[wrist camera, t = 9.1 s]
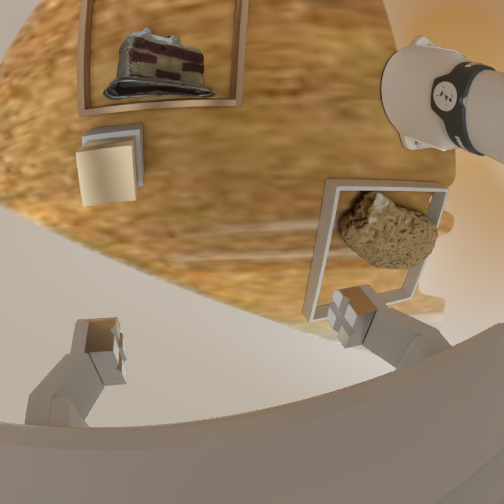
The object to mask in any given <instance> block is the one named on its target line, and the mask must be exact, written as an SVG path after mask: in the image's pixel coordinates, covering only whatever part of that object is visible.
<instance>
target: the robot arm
mask: <svg viewBox="0 0 504 504" xmlns="http://www.w3.org/2000/svg"><path fill="white" fill-rule="evenodd" d="M381 91H382V101H383V105H384V109H385V112H386V114H387V116H388V118H389V120H390V122H391V123H392V124H393V126H394V127H395V128H396V129H397V131H398V132H399V134H400V138H401V141H402V144H403V146H404V148H406V149H409V150H416V149H424V148H432V147H433V148H436V149H438V150H441V151H446V150H451V149H455V148H459V147H460V148H462V149H464V150H465V151H467V152H470V153H473V154H477V155H480V156H484V155H486V156H488V157H491V158H493V159H495V160H497V161H499V162H501V163H503V164H504V73H502V72H498V71H496V70H494V69H493V68H492V67H489V66H486V65H483V64H481V63H474V62H471V61H469V60H467V59H466V57H465V56H464V55H462V54H460V52H459V51H457V50H453V49H448V48H442V47H438V46H437V45H436V44H434V43H433V42H432V41H430V40H429V39H427V38H426V37H424V36H417V37H416V38H415V39H414V40H413V41H412V43H411V44H410V45H409V46H408V47H406V48H403V49H401V50H399V51H398V52H396V53H395V54H394V55H393V56H392V57H391V59H390V60H389V62H388V63H387V65H386V68H385V70H384V74H383V78H382V87H381ZM332 300H333V301H334V302H333V303H332V304H331V306H330V307H329V310H328V320H329V323H330V325H331V327H332V329H333V330H335V331H337V332H338V338H339V340H340V342H341V343H342V345H343V346H344V348H349V347H353V346H358V345H362V344H363V346H364V347H366V348H367V349H369V350H370V351H372V352H373V353H375V354H376V355H378V356H379V357H381V358H382V359H384V360H385V361H387V362H388V363H389V364H391V365H392V366H394V367H396V369H395V371H393V372H390V373H387V374H385V375H382V376H379V377H376V378H373V379H370V380H367V381H365V382H362V383H359V384H355V385H352V386H349V387H346V388H343V389H339V390H336V391H333V392H329V393H326V394H322V395H319V396H316V397H312V398H308V399H305V400H300V401H296V402H292V403H288V404H284V405H279V406H275V407H271V408H266V409H262V410H256V411H252V412H246V413H241V414H235V415H229V416H223V417H217V418H210V419H203V420H196V421H188V422H179V423H171V424H159V425H147V426H132V427H131V426H130V427H106V428H105V427H103V428H101V427H99V428H89V426H88V425H87V424H86V422H85V421H84V420H85V418H86V417H87V415H88V413H89V411H90V410H91V408H92V407H93V405H94V403H95V402H96V400H97V398H98V397H99V395H100V393H101V392H102V390H103V389H104V386H108V385H120V384H126V367H125V364H124V362H125V360H126V345H125V340H124V337H123V334H122V333H120V323H119V320H118V318H117V317H115V318H96V319H82V320H81V319H78V320H77V322H76V324H75V329H74V335H73V340H72V346H71V352H70V354H66V355H65V356H64V357H63V358H62V359H61V360H60V362H59V363H58V364H57V365H56V366H55V367H54V368H53V369H52V370H51V371H50V372H49V374H48V375H47V376H46V377H45V378H44V379H43V380H42V382H41V383H40V384H39V385H38V386H37V387H36V388H35V389H34V390H33V392H32V393H31V394H30V395H29V399H28V405H27V411H26V418H25V425H24V424H14V423H6V422H0V504H504V323H498V324H496V325H494V326H492V327H490V328H488V329H486V330H485V331H483V332H481V333H479V334H477V335H475V336H473V337H471V338H469V339H467V340H465V341H463V342H461V343H459V344H457V345H455V346H451V345H450V344H449V343H448V342H447V340H446V339H445V338H444V337H443V336H442V335H441V333H440V332H439V331H438V330H437V329H436V328H434V327H432V326H430V325H428V324H426V323H423V322H421V321H419V320H417V319H415V318H413V317H411V316H409V315H406V314H404V313H402V312H400V311H398V310H396V309H394V308H388V306H387V305H386V304H385V303H384V302H383V300H382V299H381V298H380V297H379V296H378V295H377V293H376V292H375V291H374V290H373V289H372V287H371V286H369V285H367V284H366V285H360V286H356V287H351V288H345V289H339V290H335V291H334V293H333V295H332Z"/></svg>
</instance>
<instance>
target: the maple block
mask: <svg viewBox="0 0 504 504" xmlns="http://www.w3.org/2000/svg"><path fill="white" fill-rule="evenodd" d="M76 160H77V169H78V177H79V184H80V191H81V197H82V203H83V206H90V205H99V204H107V203H116V202H125V201H135V200H136V196H137V189H138V170H137V154H136V135H131V136H121V137H113V138H104V139H97V140H90V141H87V142H86V143H85V144H84V145H83V146H82V147H81V148H80V149H79V150H78V151H77V152H76Z"/></svg>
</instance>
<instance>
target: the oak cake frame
mask: <svg viewBox="0 0 504 504" xmlns="http://www.w3.org/2000/svg"><path fill="white" fill-rule="evenodd" d="M248 2H249V0H236V3H235V18H234V33H233V49H232V67H231V86H230V98H189V99H167V100H152V101H139V102H129V103H120V104H111V105H103V106H96V107H90V39H91V22H92V9H93V0H81V7H80V18H79V33H78V62H77V84H78V113H79V117H85V116H92V115H99V114H106V113H114V112H123V111H133V110H144V109H156V108H172V107H197V106H242V98H243V80H244V64H245V47H246V32H247V17H248Z"/></svg>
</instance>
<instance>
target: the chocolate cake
mask: <svg viewBox="0 0 504 504" xmlns="http://www.w3.org/2000/svg"><path fill="white" fill-rule="evenodd" d="M119 55H120V59H119V62H118V71H117V77H116V79H115V80H113V82H111V83H110V85H109V87H108V88H106V89H105V91H104V92H103V94H104V96H105V98H108V99H110V100H120V99H123V98H131V97H146V96H164V95H188V96H189V95H195V96H197V95H199V96H202V97H205V98H206V97H212V96H214V95H215V94H214V93H212V92H211V89H210V88H209V87H205V86H203V85H204V79H203V77H202V75H203V73H204V65H203V60H204V57H203V55H202V53H201V52H200V50H198V49H195V48H193V47H190V46H183V45H180V44H179V37H177V36H169V37H167V38H165V37H162V36H157V35H153V34H151V30H150V29H149V28H145V29H144V30H143V31H141V32H140V31H138V32H133V33H132V34H131V35H129V36H128V37H127V38H126V39H125V40H124V41H123V43H122V45H121V47H120V49H119Z"/></svg>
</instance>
